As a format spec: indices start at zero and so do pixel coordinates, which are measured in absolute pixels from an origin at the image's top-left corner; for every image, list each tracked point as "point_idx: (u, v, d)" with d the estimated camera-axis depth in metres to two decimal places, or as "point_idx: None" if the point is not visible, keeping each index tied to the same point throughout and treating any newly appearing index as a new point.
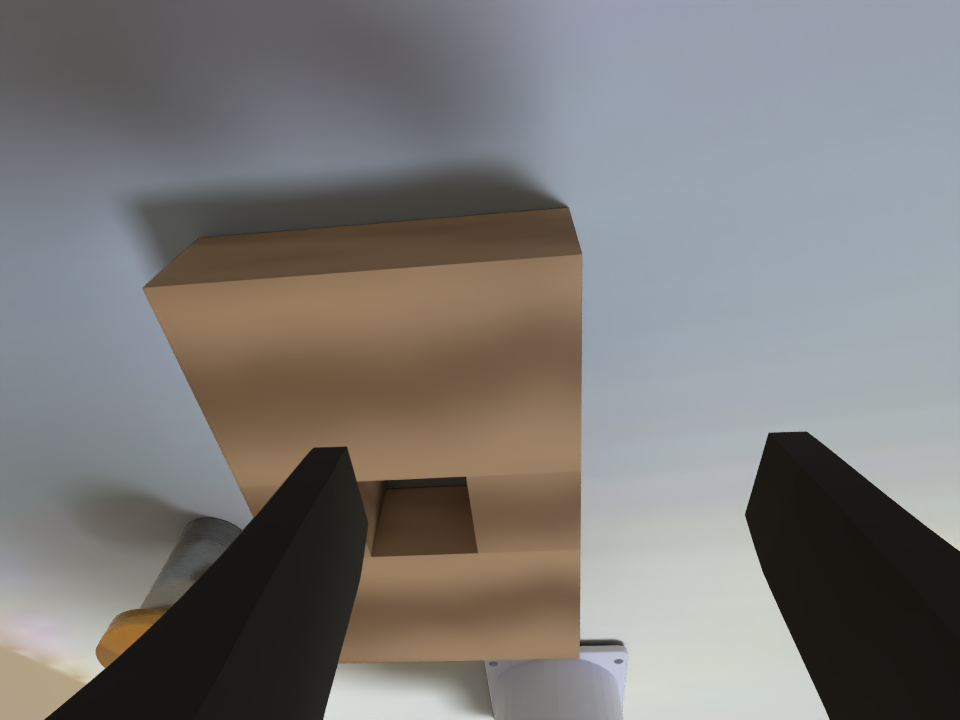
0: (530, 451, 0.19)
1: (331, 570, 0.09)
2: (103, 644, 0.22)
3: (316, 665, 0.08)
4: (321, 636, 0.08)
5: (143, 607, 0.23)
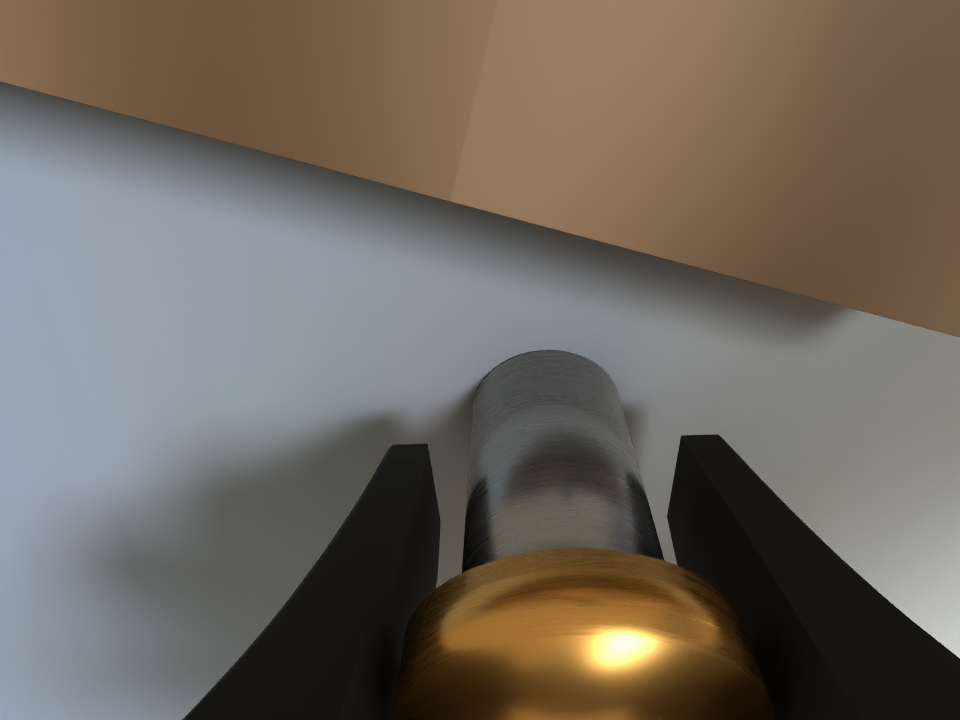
0: None
1: (419, 568, 0.09)
2: None
3: None
4: None
5: None
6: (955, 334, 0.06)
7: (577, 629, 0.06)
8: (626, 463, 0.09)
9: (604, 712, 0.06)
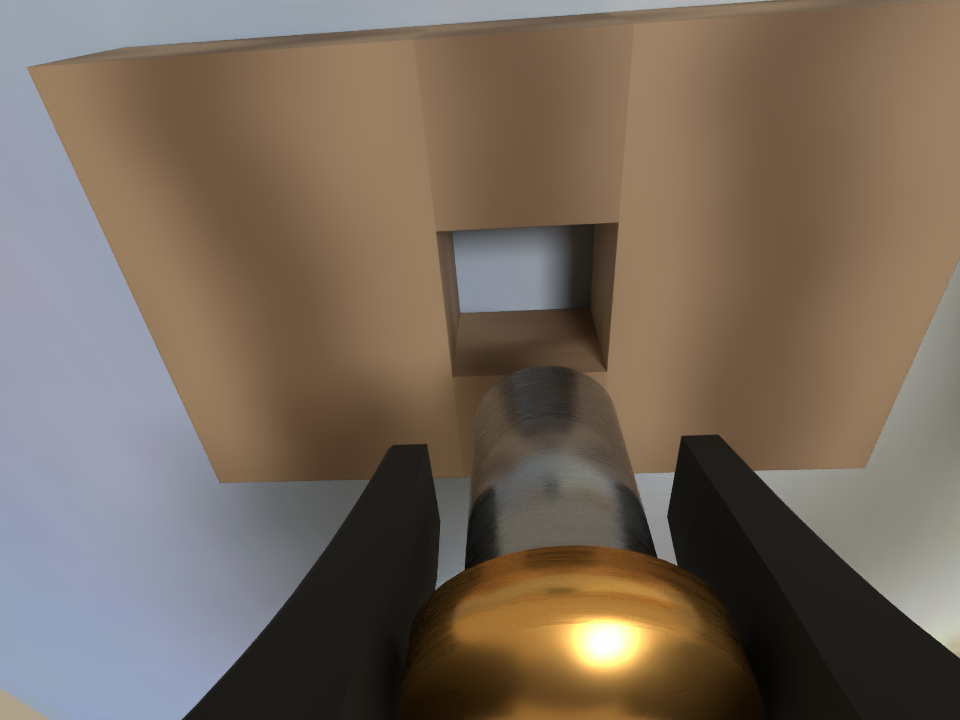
0: (375, 132, 0.12)
1: (419, 568, 0.09)
2: None
3: None
4: None
5: None
6: (791, 468, 0.17)
7: (562, 619, 0.06)
8: (619, 468, 0.09)
9: (598, 704, 0.07)
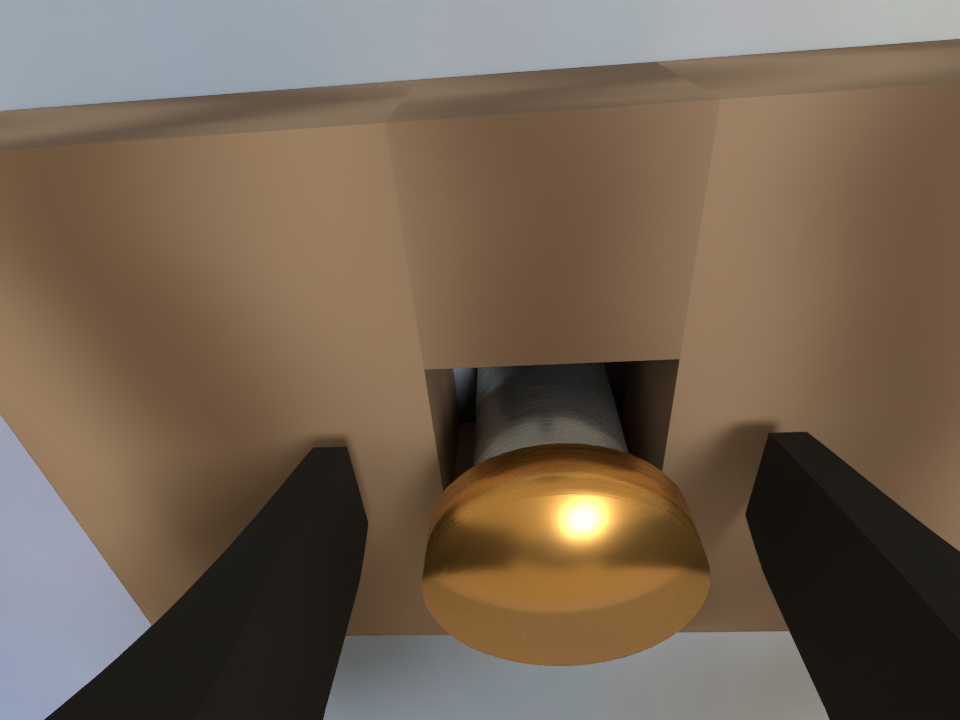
0: (334, 247, 0.08)
1: (331, 570, 0.09)
2: (452, 628, 0.09)
3: (316, 665, 0.08)
4: (321, 636, 0.08)
5: None
6: None
7: (551, 492, 0.08)
8: (602, 396, 0.11)
9: (580, 566, 0.08)
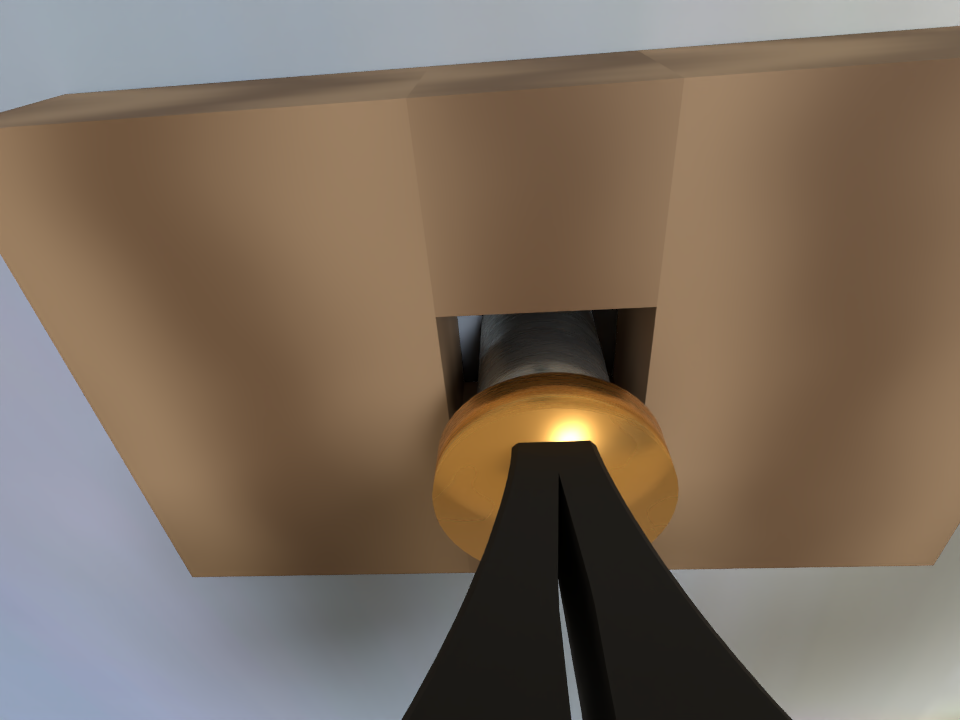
0: (360, 206, 0.10)
1: None
2: (459, 538, 0.11)
3: None
4: None
5: None
6: (847, 565, 0.15)
7: (541, 407, 0.09)
8: (590, 346, 0.12)
9: None
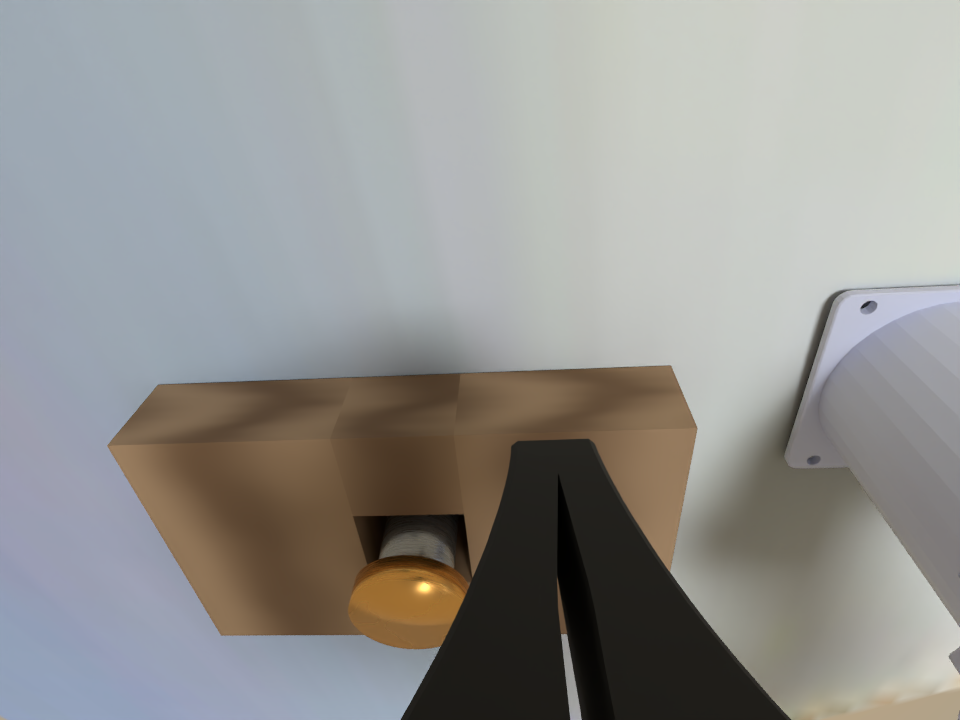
0: (311, 474, 0.20)
1: None
2: (364, 631, 0.21)
3: None
4: None
5: None
6: None
7: (394, 578, 0.19)
8: (442, 520, 0.23)
9: (412, 606, 0.20)
